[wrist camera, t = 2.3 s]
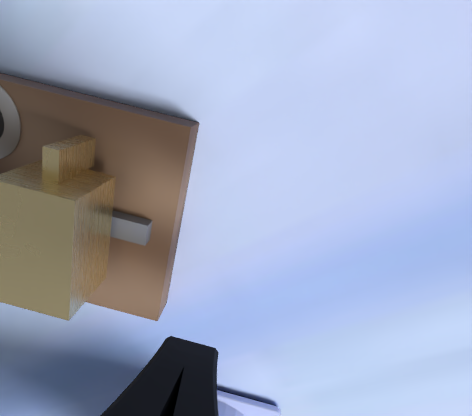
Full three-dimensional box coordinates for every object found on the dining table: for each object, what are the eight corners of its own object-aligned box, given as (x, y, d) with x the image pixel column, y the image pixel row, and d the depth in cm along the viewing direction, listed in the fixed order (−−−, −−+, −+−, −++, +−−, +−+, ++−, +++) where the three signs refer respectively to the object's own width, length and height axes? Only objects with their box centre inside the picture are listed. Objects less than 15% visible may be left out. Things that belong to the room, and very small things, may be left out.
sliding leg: (110, 272, 16) (68, 320, 13) (50, 255, 16) (-6, 300, 13) (124, 145, 14) (76, 166, 11) (53, 127, 14) (-15, 142, 11)
